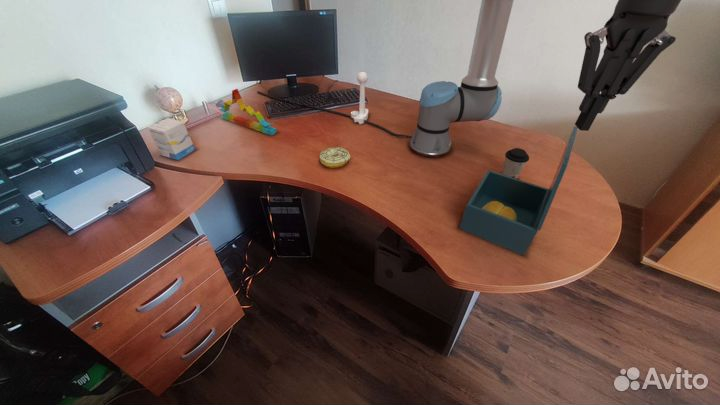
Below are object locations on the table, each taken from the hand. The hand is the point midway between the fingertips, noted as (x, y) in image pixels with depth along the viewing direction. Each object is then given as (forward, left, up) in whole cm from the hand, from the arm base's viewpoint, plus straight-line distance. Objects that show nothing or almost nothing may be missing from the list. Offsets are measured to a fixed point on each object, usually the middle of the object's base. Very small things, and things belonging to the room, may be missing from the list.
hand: (581, 127), depth 59 cm
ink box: (-117, -30, -31) cm, 125 cm away
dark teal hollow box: (-7, 0, -31) cm, 31 cm away
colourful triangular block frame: (-113, 0, -31) cm, 117 cm away
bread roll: (-8, 0, -30) cm, 31 cm away
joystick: (-77, +32, -31) cm, 89 cm away
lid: (0, 0, -13) cm, 13 cm away
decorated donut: (-64, -2, -31) cm, 71 cm away
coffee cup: (-10, +22, -31) cm, 39 cm away
